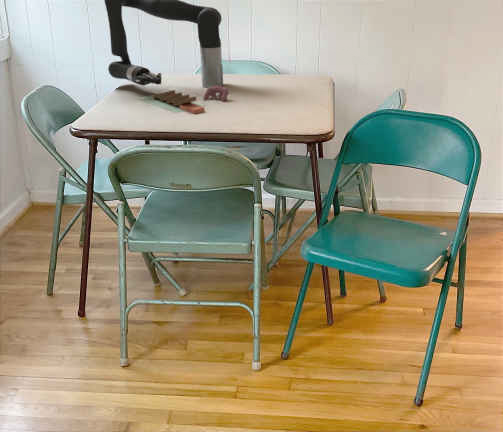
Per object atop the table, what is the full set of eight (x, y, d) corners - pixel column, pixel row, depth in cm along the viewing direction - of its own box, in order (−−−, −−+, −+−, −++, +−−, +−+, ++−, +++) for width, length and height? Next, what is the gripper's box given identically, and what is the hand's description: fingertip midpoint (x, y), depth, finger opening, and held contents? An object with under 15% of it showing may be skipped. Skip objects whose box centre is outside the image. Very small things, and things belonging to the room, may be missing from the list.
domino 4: (172, 102, 253) (185, 98, 245) (183, 100, 256) (195, 96, 247) (173, 106, 253) (186, 102, 245) (184, 104, 256) (196, 100, 248)
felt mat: (136, 99, 266) (136, 98, 266) (165, 93, 274) (165, 92, 274) (175, 113, 245) (175, 112, 245) (205, 106, 253) (205, 106, 252)
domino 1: (152, 95, 264) (164, 92, 256) (163, 93, 267) (174, 89, 258) (153, 99, 264) (165, 96, 256) (163, 97, 267) (175, 93, 259)
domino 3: (166, 100, 256) (178, 96, 248) (176, 97, 259) (188, 94, 251) (167, 104, 257) (179, 100, 249) (177, 101, 259) (189, 98, 251)
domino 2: (159, 97, 260) (170, 94, 252) (169, 95, 263) (181, 92, 255) (160, 101, 260) (171, 98, 252) (170, 99, 263) (182, 96, 255)
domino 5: (179, 104, 249) (193, 109, 242) (189, 102, 252) (204, 107, 245) (179, 108, 250) (193, 113, 243) (190, 106, 253) (204, 111, 246)
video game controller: (228, 104, 261) (230, 87, 261) (223, 101, 257) (226, 84, 257) (207, 102, 265) (209, 85, 265) (202, 99, 261) (204, 83, 261)
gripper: (124, 68, 268) (144, 75, 256) (151, 64, 276) (172, 70, 263) (126, 86, 271) (146, 93, 259) (152, 81, 279) (173, 88, 266)
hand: (159, 81), depth 261 cm, fingers closed
